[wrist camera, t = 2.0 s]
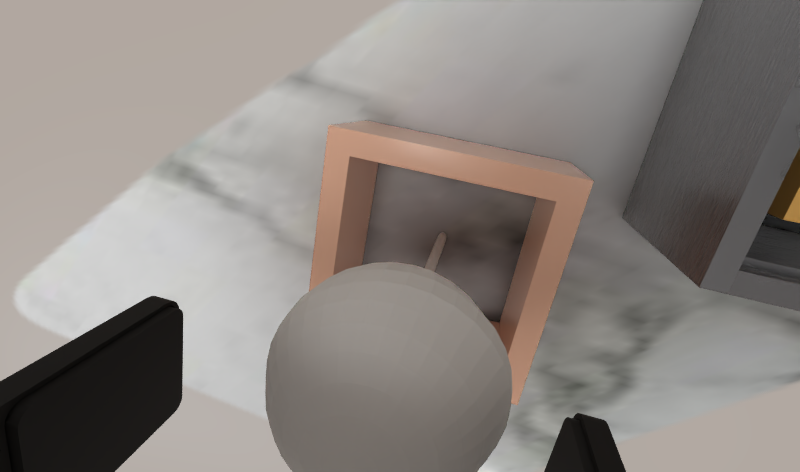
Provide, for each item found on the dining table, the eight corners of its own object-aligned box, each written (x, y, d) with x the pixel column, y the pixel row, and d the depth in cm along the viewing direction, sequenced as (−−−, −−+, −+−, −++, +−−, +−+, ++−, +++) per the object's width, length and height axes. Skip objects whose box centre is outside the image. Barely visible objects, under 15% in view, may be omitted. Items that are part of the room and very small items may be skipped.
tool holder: (570, 162, 19) (593, 180, 15) (512, 343, 23) (517, 404, 18) (365, 120, 21) (328, 125, 16) (339, 296, 24) (302, 342, 20)
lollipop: (410, 301, 23) (285, 597, 9) (367, 205, 22) (152, 379, 8) (519, 268, 21) (565, 577, 8) (479, 161, 20) (443, 289, 6)
